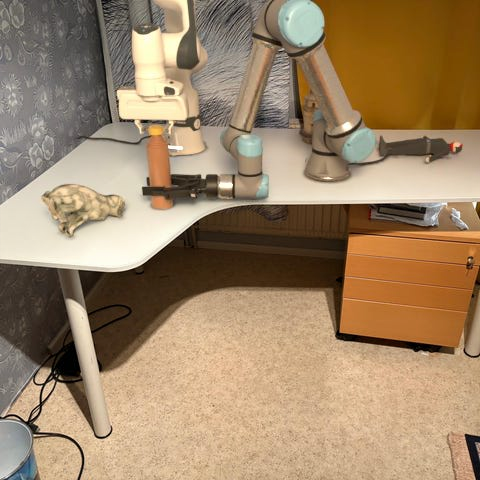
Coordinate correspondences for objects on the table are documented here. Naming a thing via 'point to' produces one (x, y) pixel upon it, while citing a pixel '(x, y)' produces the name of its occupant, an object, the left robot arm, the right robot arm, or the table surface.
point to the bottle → (159, 169)
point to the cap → (155, 130)
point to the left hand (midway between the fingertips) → (156, 133)
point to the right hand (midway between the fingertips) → (144, 186)
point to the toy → (420, 147)
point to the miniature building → (308, 116)
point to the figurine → (80, 205)
